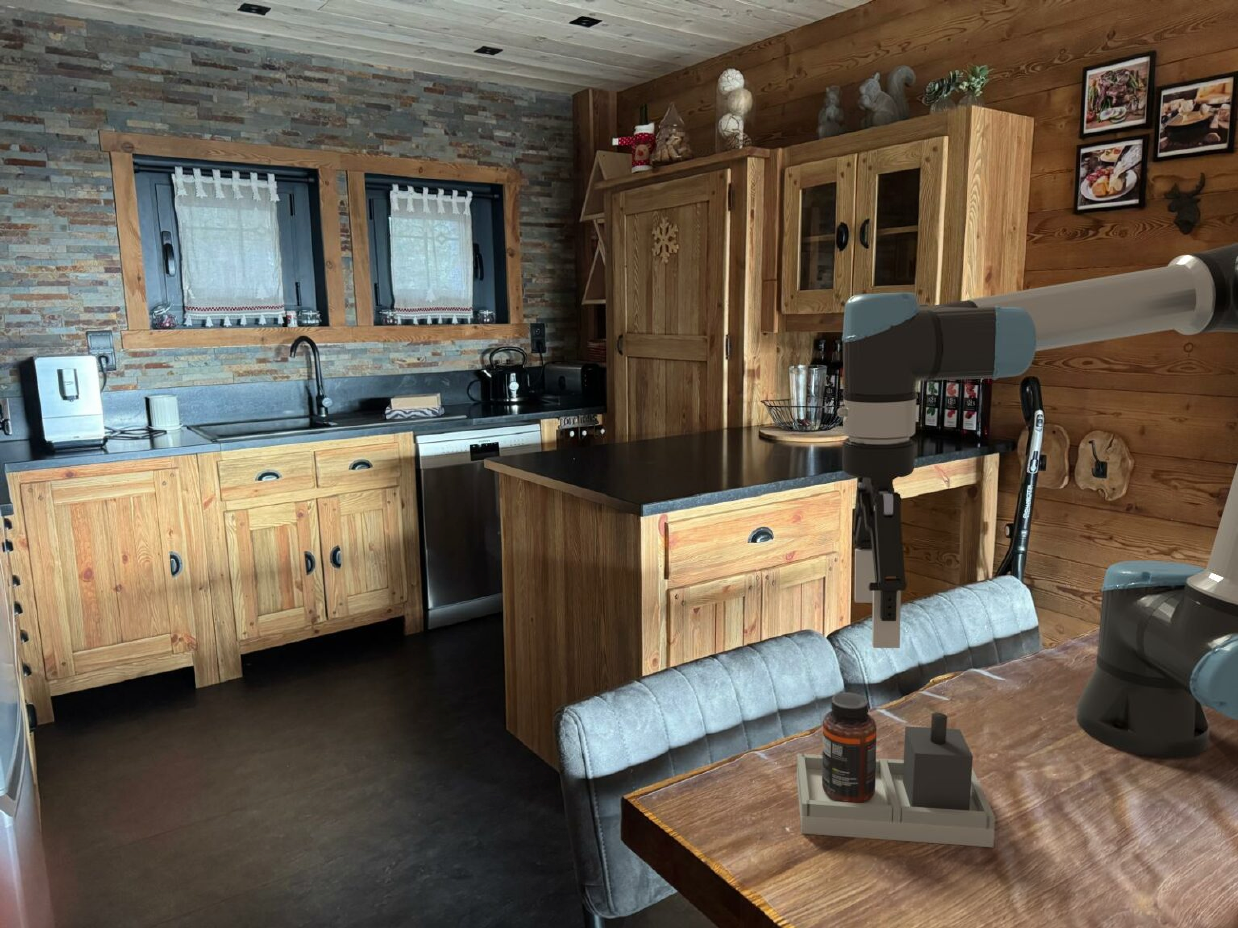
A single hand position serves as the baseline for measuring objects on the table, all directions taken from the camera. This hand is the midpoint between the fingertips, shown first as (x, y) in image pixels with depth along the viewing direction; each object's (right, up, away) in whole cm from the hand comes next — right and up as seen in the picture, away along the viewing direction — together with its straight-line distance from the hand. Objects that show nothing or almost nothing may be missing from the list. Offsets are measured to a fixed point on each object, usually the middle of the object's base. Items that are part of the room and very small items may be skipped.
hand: (875, 622), depth 98 cm
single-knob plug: (+7, -20, 0) cm, 21 cm away
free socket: (-3, -20, +2) cm, 20 cm away
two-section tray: (+2, -22, +1) cm, 22 cm away
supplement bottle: (-3, -20, +1) cm, 20 cm away
